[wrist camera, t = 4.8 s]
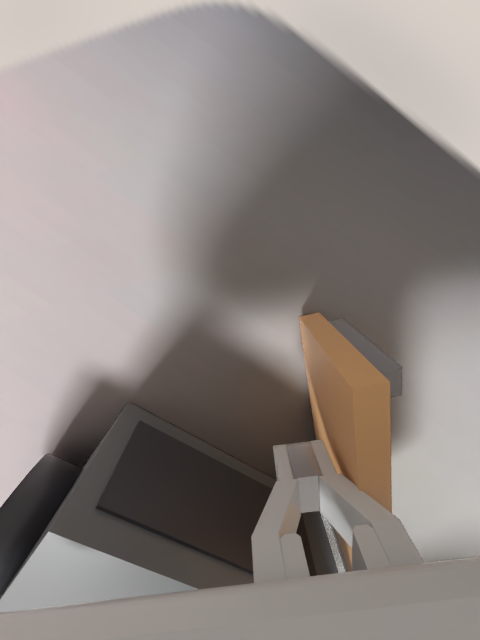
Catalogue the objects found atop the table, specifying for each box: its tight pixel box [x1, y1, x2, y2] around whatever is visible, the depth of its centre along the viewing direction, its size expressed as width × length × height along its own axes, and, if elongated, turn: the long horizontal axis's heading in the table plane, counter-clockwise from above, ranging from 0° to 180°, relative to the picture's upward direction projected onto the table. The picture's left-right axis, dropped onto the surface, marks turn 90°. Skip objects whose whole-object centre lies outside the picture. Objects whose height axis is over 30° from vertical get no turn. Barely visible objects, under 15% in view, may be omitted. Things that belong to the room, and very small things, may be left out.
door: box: [299, 312, 402, 572], centre depth 12 cm, size 14×2×6 cm, turn 12°
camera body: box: [0, 402, 338, 613], centre depth 14 cm, size 16×12×7 cm
